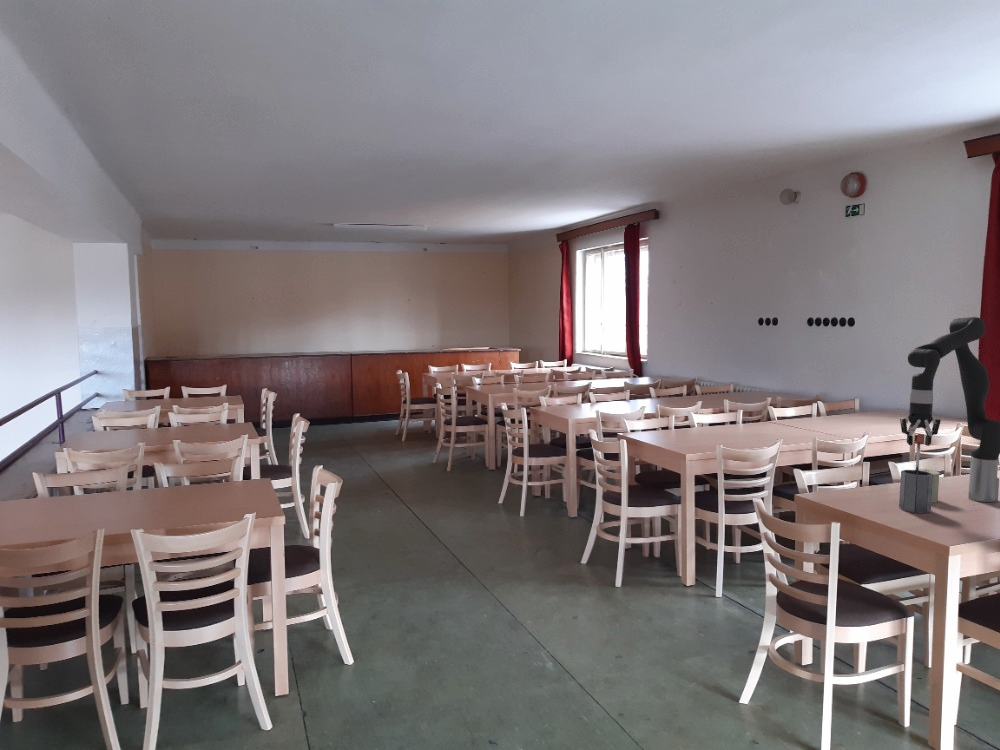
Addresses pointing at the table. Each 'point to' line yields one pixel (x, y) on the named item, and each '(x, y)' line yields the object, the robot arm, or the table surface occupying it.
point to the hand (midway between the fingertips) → (918, 445)
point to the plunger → (918, 448)
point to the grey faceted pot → (916, 491)
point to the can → (934, 484)
